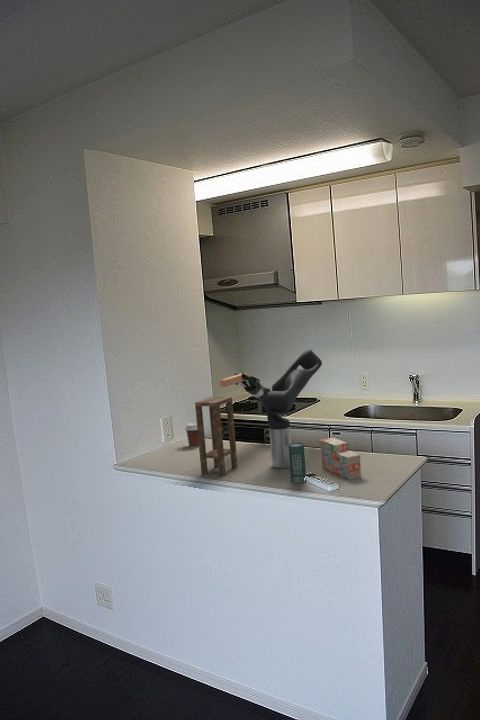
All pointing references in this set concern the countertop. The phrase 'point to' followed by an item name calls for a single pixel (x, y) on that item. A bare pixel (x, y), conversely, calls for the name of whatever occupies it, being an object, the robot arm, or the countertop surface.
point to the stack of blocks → (340, 458)
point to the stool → (216, 434)
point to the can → (297, 462)
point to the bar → (231, 380)
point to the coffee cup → (192, 435)
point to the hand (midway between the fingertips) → (239, 375)
